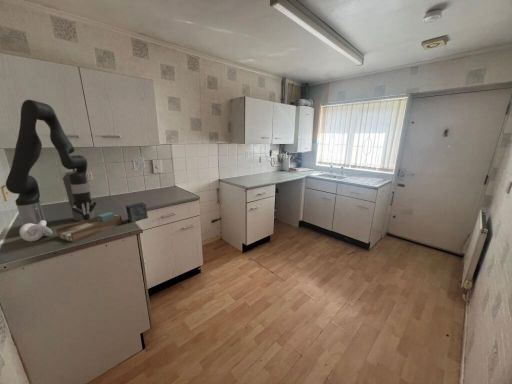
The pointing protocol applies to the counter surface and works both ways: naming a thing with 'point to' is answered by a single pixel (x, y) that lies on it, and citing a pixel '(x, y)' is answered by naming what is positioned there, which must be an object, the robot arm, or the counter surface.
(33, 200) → the robot arm
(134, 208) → the small box
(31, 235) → the white knot sculpture
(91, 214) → the canister
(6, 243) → the counter surface
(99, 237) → the counter surface
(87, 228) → the track
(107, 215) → the block
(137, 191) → the counter surface
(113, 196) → the counter surface
